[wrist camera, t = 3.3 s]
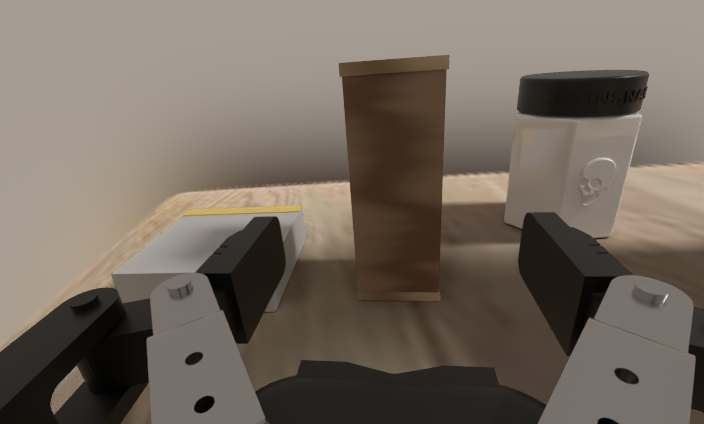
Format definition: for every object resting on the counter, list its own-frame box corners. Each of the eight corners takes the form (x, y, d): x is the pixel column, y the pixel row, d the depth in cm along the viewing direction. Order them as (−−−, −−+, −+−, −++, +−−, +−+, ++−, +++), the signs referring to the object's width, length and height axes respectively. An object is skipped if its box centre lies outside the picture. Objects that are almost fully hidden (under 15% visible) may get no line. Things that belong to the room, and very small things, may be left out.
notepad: (306, 237, 31) (302, 205, 30) (276, 311, 22) (267, 269, 21) (199, 240, 32) (190, 209, 31) (126, 312, 23) (110, 272, 22)
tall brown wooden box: (432, 258, 26) (437, 55, 21) (440, 301, 22) (449, 54, 16) (363, 257, 27) (351, 62, 22) (356, 300, 22) (338, 63, 17)
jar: (526, 246, 27) (551, 81, 22) (486, 206, 35) (498, 76, 30) (642, 237, 27) (690, 70, 22) (576, 199, 35) (602, 68, 30)
